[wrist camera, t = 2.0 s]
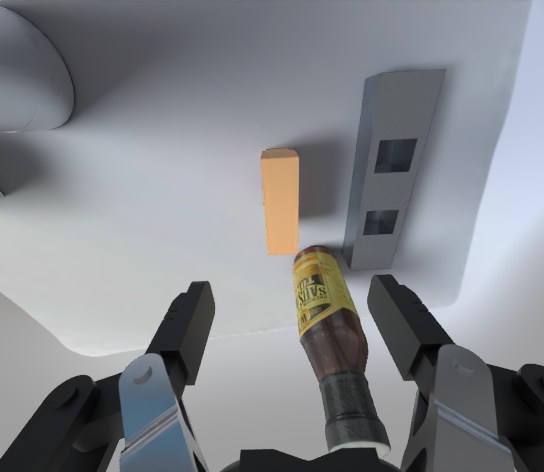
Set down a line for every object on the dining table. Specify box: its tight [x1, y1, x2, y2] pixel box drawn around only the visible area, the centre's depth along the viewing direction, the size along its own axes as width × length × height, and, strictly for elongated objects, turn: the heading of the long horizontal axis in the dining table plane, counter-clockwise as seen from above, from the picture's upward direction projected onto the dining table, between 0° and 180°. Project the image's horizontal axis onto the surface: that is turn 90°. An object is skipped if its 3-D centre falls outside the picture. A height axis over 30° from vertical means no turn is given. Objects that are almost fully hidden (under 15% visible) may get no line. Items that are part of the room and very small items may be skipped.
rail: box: [342, 69, 446, 270], centre depth 24 cm, size 5×20×4 cm, turn 3°
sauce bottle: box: [293, 246, 391, 458], centre depth 22 cm, size 7×6×20 cm
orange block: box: [261, 148, 299, 255], centre depth 22 cm, size 3×9×7 cm, turn 3°
